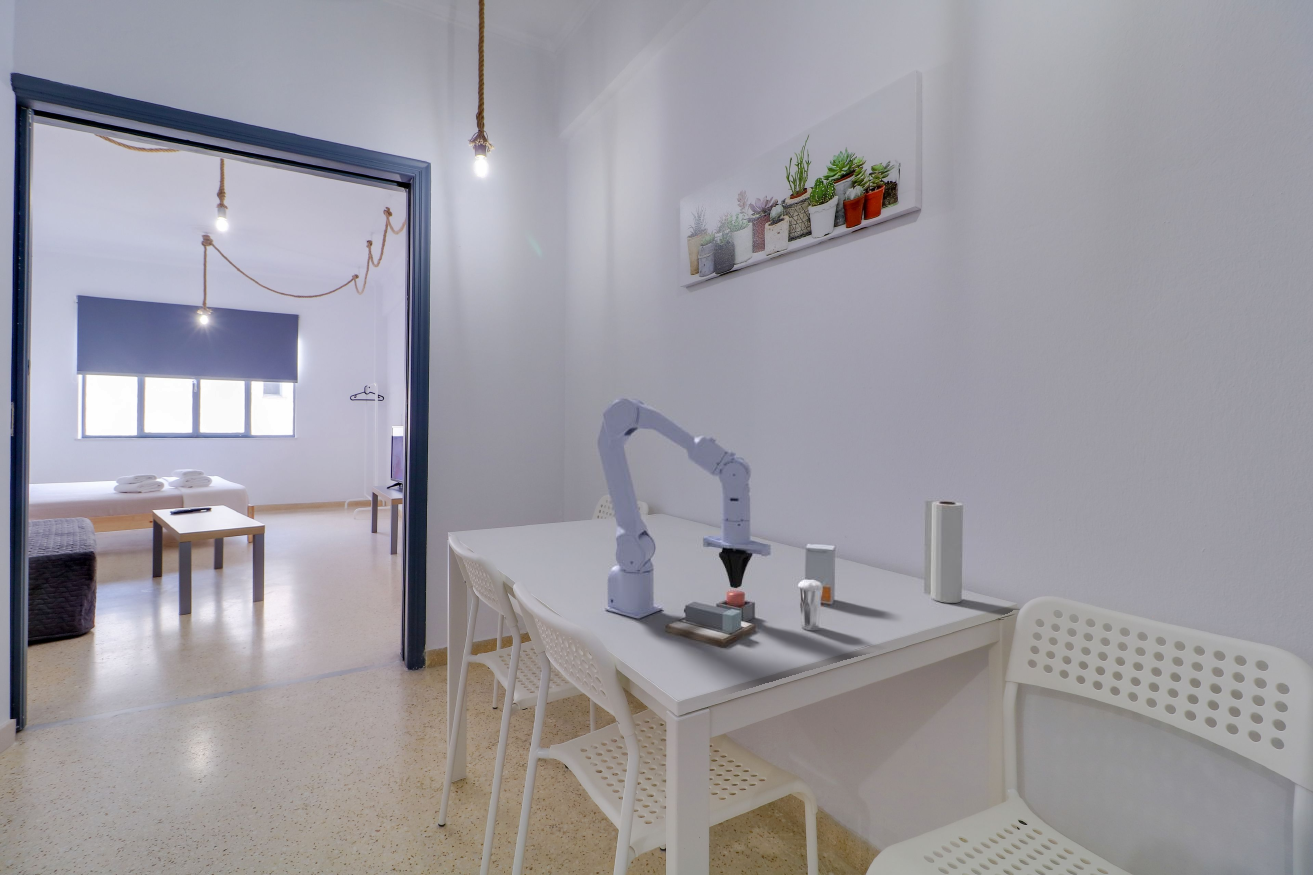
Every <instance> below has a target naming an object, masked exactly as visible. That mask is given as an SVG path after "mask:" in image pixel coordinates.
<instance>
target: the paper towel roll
mask: <svg viewBox="0 0 1313 875" xmlns="http://www.w3.org/2000/svg"><path fill="white" fill-rule="evenodd" d="M924 504H925V507H924V508H925V509H924V512H925V513H924V514H925V517H924V520H925V521H924V586H923V587H924V588H923V589H924V592H923V593H924V594H929V595H930V598H931V600H934V601H937V602H941V603H947V604H958V603H961V602H962V597H963V596H962V594H963V592H962V590H963V588H962V586H963V535H964V534H963V530H964V529H963V523H964V519H963V518H964V504H963V503H961V502H955V501H943V500H942V501H940V500H925V503H924Z"/></svg>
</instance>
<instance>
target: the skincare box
mask: <svg viewBox="0 0 1313 875" xmlns="http://www.w3.org/2000/svg"><path fill="white" fill-rule="evenodd" d="M804 555H805V558H804V559H805V561H804V562H805V564H804V565H805V566H804V580H815V581H818V582H820V583H821V584H822V586H823V590H822V599H821V604H827V605H833V603H834V601H835V592H836V591H835V590H836V588H835V586H836V585H835V584H836V581H835V580H836V546H835V545H832V544H831V545H830V544H829V545H827V544H820V543H819V544H818V543H817V544H815V543H813V544H812V543H807V544H806V546H805V554H804ZM826 578H827V579H826ZM825 580H826V581H825ZM824 582H825V583H824ZM823 584H824V585H823Z"/></svg>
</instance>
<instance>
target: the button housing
mask: <svg viewBox="0 0 1313 875" xmlns="http://www.w3.org/2000/svg"><path fill="white" fill-rule="evenodd" d="M715 606H716V607H720V608H724V609H729V610H731V609H734V610H739V611H741V621H742V622H746V623H748V621H751V620H752V619H755V617H756V602H755V601H751V600H746V599H745V606H743V607H740V608H737V607H733V606H729V605H727V598H725V599H724V600H722V601H720V602H717V603H715Z"/></svg>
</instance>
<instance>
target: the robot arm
mask: <svg viewBox="0 0 1313 875" xmlns="http://www.w3.org/2000/svg"><path fill="white" fill-rule="evenodd" d="M600 426H601V427H600V429H599V434H598V438H597V442H596V443H597V448H598V451H599V452H598V453H599V456H600V460H601V465H602V468H603V469H602V470H603V473H604V477H605V480H606V484H607V488H608V489H607V490H608V493H609V496H610V497H609V498H610V501H611V504H612V510H613V515H614V517H615V521H616V525H617V528H616V533H615V542H616V550H615V561H616V562H617V565H615V566H612V568H611V569H610V571H609V573H608V575H607V606H604V607H605V608H604V609H605V611H609V612H613V613H616V614H619V615H623V616H627V617H630V618H634V619H642V618H644V617H646V616H649V615H652V614H654V613H657V612H658V611H661V610H663V608H664V607H663V606H661V605H658V604H655V601H654V600H655V599H654V598H655V595H654V594H655V592H654V590H655V589H654V587H655V586H654V583H655V582H654V577H655V576H654V575H655V574H654V567H655V566H654V564H653V562H652V559H651V558H652V557H654V556H655V554H656V553H655V552H656V548H657V547H656V542H655V540H654V538H653V536H651V534H650V533H649V531H648V528H647V525H646V523H645V522H644V521H643V519H642V517H641V512H640V507H639V504H638V500H637V495H636V492H635V488H634V484H633V480H632V477H631V472H630V466H629V464H628V458H627V456H626V452H625V448H624V446H625V445H626V444H627V443H628V442H627V441H629V439H630V438H631V436H632V434H634V433H635V432H636V431H638V429H644V430H653V431H656V432H657V433H658V434H660V435H661V436H663V437H664V438H666V439H668V440H670V441H672V442H673V443H675V444H676V445H678V446H680V447H681V448H683V449H684V450H685V451H686V452H687V457H688V460H690V461H691V463H694V464H696V465H697V466H698V467H700V468H701V469H703V470H704V471H706V472H707V473H709V475H712V476H713V477H717V478H718V479H719V482H720V483H721V488H722V490H721V498H720V499H721V503H720V505H721V509H720V510H721V512H720V514H721V520H720V521H721V522H720V523H721V526H720V527H721V528H720V529H721V534H720V535H721V536H714V535H713V536H712V535H706V536H703V538H702V546H703V547H705V548H708V547H710V548H716V549H721V551H720V552H718V557H719V559H720V560H721V562H722V564H723V567H724V569H725V572H726V574H727V577H728V581H729V587H730V588H731V589H732V588H733V589H738V588H740V587H742V584H743V580H744V575H745V572H746V570H747V567H748V565H749V562H750V561H751V558H752V557H753V554H754V555H760V556H761V557H768V556H770V555H771V554H772V553H771V551H772V550H771V549H772V548H771V547H772V546H771V544H768V543H767V544H766V543H763V542H759V541H755V540H753V539H751V496H750V491H751V488H750V483H749V482H750V479H751V476H752V471H751V470H752V469H751V467H750V465H749V463H748V462H747V461H745V458H743V457H740V456H736V453H735V451H733V450H731V451H729V450H727V449H725V448H724V447H723V446H721V445H719V444H718V443H717V439H716V438H714V437H713V436H709V437H707V436H706V435H700V436H695V435H693V434H692V433H690V432H689V431H688V430H686V429H685V428H683V427H682V426H680V425H679V424H678V423H677V422H675V421H673V420H672V419H671V418H669V417H668V416H667V415H666V414H664V413H663V412H661V411H660V410H658V409H656V408H655V407H653V406H650V405H648V404H645V403H644V402H643V401H642V400H639V399H636V398H631V399H630V398H626V397H619V398H616V399H614V400H613V401H611V403H610V404H608V406H607V407H606V409H605V410H604V411H603V413H602V423H601V425H600Z"/></svg>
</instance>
